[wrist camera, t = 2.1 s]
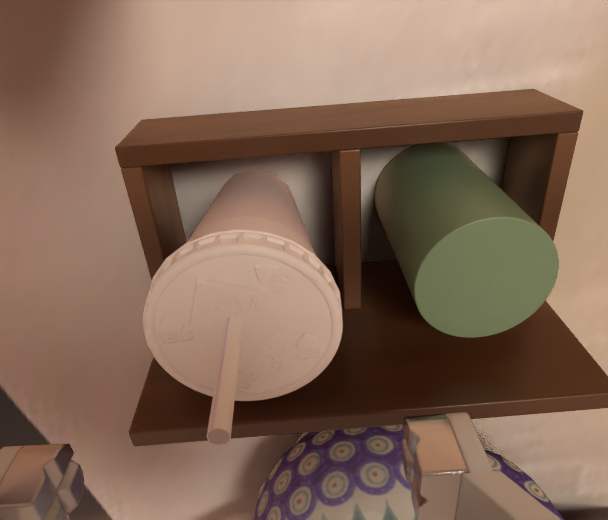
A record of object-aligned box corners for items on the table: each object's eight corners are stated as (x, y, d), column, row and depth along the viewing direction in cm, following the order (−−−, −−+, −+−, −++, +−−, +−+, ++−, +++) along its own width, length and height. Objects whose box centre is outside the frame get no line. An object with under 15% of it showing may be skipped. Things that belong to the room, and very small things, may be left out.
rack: (141, 119, 21) (45, 218, 12) (534, 88, 21) (710, 165, 12) (182, 289, 26) (133, 447, 17) (503, 264, 26) (616, 408, 17)
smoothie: (277, 114, 21) (275, 296, 9) (344, 225, 24) (410, 472, 12) (162, 185, 23) (29, 424, 11) (239, 281, 26) (203, 553, 13)
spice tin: (375, 146, 22) (418, 223, 15) (482, 138, 22) (574, 210, 15) (374, 241, 25) (410, 343, 18) (470, 233, 25) (544, 332, 18)
